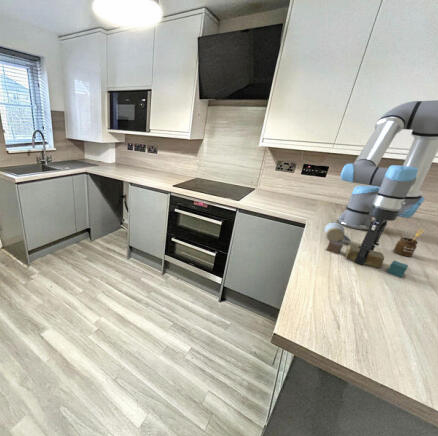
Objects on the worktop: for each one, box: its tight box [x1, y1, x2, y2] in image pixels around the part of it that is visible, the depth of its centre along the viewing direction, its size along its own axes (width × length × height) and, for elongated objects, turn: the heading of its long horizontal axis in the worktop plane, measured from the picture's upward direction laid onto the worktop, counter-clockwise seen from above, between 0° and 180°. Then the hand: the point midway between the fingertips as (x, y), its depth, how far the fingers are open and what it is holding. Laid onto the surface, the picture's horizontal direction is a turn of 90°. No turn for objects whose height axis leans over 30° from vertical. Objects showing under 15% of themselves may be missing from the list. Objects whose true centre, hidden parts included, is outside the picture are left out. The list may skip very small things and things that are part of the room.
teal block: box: [386, 260, 410, 278], centre depth 88 cm, size 4×4×4 cm
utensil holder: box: [393, 228, 425, 257], centre depth 102 cm, size 6×6×12 cm
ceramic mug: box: [324, 221, 352, 244], centre depth 113 cm, size 11×8×8 cm
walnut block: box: [326, 240, 344, 254], centre depth 103 cm, size 4×4×4 cm
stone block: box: [345, 244, 385, 269], centre depth 95 cm, size 6×12×5 cm, turn 53°
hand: (362, 260), depth 96 cm, fingers open, 7 cm apart
